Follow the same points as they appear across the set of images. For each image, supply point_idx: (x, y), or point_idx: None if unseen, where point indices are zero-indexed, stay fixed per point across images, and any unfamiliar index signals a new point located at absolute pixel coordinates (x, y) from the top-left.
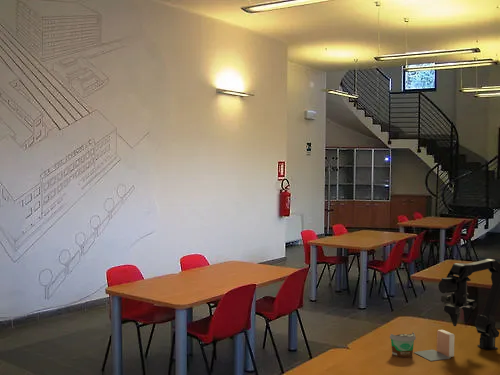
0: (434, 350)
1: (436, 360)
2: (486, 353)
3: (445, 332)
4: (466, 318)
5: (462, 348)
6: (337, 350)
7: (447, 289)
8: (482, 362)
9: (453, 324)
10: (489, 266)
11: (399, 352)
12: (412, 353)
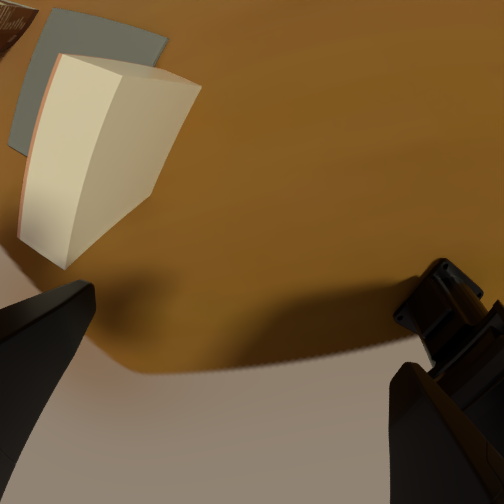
0: (152, 56)
1: None
2: (338, 323)
3: (45, 172)
4: (405, 430)
5: (356, 189)
6: None
7: None
8: (175, 334)
9: (62, 293)
10: None
11: None
12: (9, 40)
